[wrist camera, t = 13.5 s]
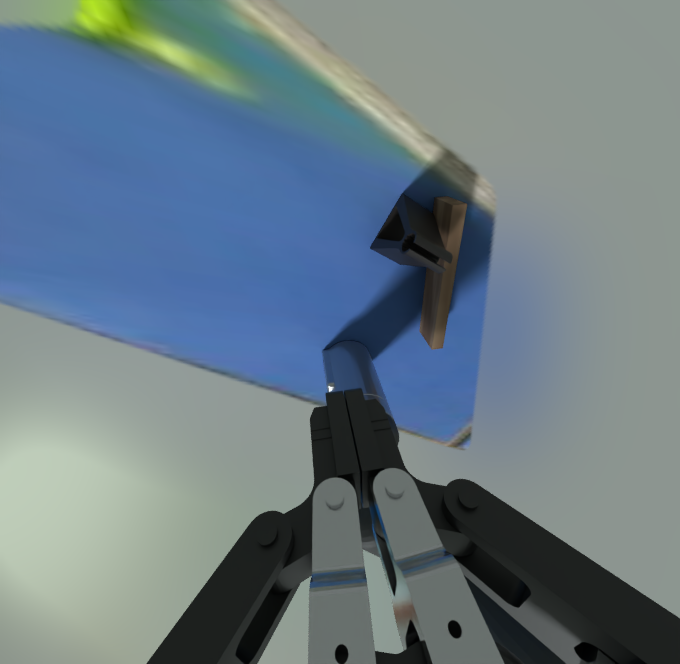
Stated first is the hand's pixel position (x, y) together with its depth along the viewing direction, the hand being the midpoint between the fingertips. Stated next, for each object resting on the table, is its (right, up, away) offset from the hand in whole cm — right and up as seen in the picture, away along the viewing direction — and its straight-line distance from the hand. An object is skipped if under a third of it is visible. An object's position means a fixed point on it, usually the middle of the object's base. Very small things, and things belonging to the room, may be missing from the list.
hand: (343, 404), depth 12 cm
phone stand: (+9, +19, +34) cm, 40 cm away
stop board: (+16, +13, +39) cm, 44 cm away
